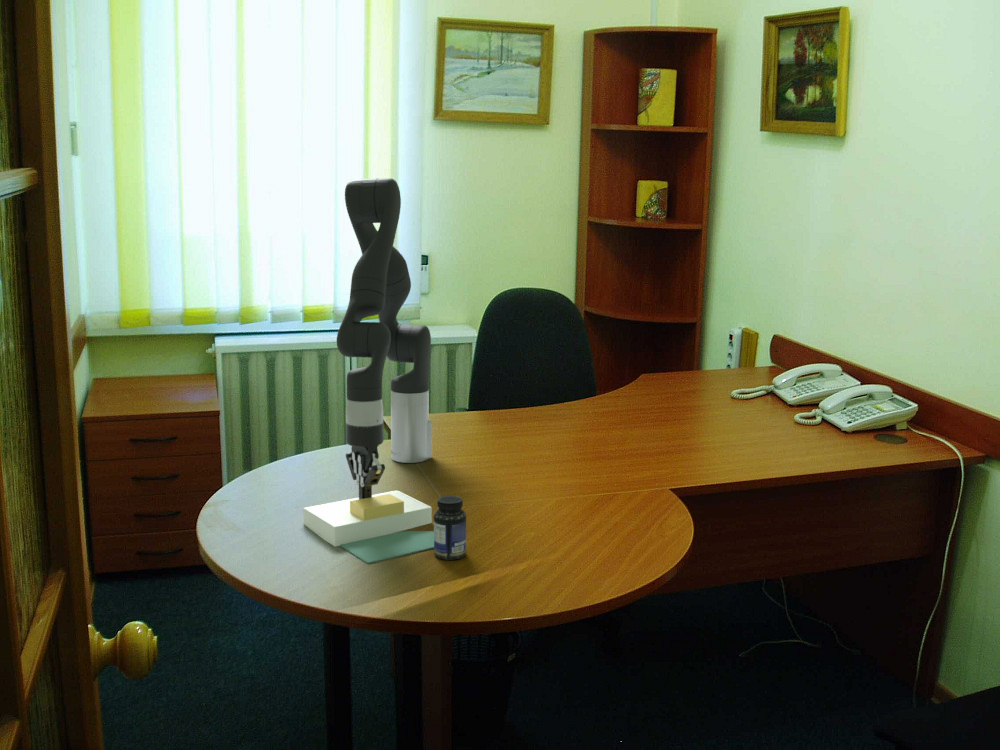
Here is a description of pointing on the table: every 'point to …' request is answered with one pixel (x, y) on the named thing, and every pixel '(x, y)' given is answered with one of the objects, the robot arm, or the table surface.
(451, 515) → the pill bottle
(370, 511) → the cream yellow sponge block
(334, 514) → the white rectangular block
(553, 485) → the table surface
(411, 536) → the mat
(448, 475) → the table surface
